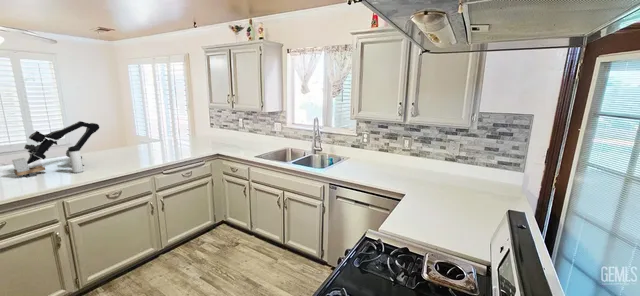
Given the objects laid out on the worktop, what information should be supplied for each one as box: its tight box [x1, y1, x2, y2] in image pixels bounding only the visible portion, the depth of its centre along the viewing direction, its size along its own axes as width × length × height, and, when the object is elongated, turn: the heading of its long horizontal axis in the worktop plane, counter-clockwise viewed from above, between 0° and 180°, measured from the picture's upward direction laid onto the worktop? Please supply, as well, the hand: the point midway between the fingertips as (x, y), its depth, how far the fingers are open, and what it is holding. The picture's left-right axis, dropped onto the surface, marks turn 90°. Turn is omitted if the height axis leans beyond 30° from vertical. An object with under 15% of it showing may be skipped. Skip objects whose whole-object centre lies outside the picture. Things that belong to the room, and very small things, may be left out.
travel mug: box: [67, 145, 84, 174], centre depth 208 cm, size 6×7×20 cm
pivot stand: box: [16, 170, 47, 179], centre depth 203 cm, size 14×11×2 cm
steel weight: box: [11, 157, 30, 173], centre depth 198 cm, size 6×6×9 cm
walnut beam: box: [13, 165, 46, 176], centre depth 202 cm, size 14×8×4 cm, turn 147°
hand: (27, 163), depth 200 cm, fingers closed, pressing on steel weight
